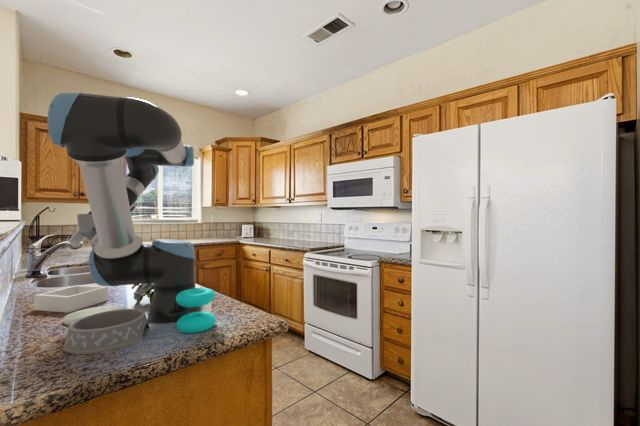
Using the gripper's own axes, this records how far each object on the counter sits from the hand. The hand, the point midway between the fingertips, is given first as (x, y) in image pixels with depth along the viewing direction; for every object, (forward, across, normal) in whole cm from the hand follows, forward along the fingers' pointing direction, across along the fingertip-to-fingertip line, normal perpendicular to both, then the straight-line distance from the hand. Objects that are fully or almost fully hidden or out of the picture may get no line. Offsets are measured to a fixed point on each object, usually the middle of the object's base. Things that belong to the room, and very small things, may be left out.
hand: (83, 243), depth 93 cm
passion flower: (+3, -6, -30) cm, 31 cm away
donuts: (+16, -37, -17) cm, 44 cm away
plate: (+14, 0, -18) cm, 23 cm away
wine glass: (+2, 0, -7) cm, 7 cm away
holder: (+8, +20, -25) cm, 33 cm away
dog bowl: (+23, -19, -10) cm, 32 cm away
